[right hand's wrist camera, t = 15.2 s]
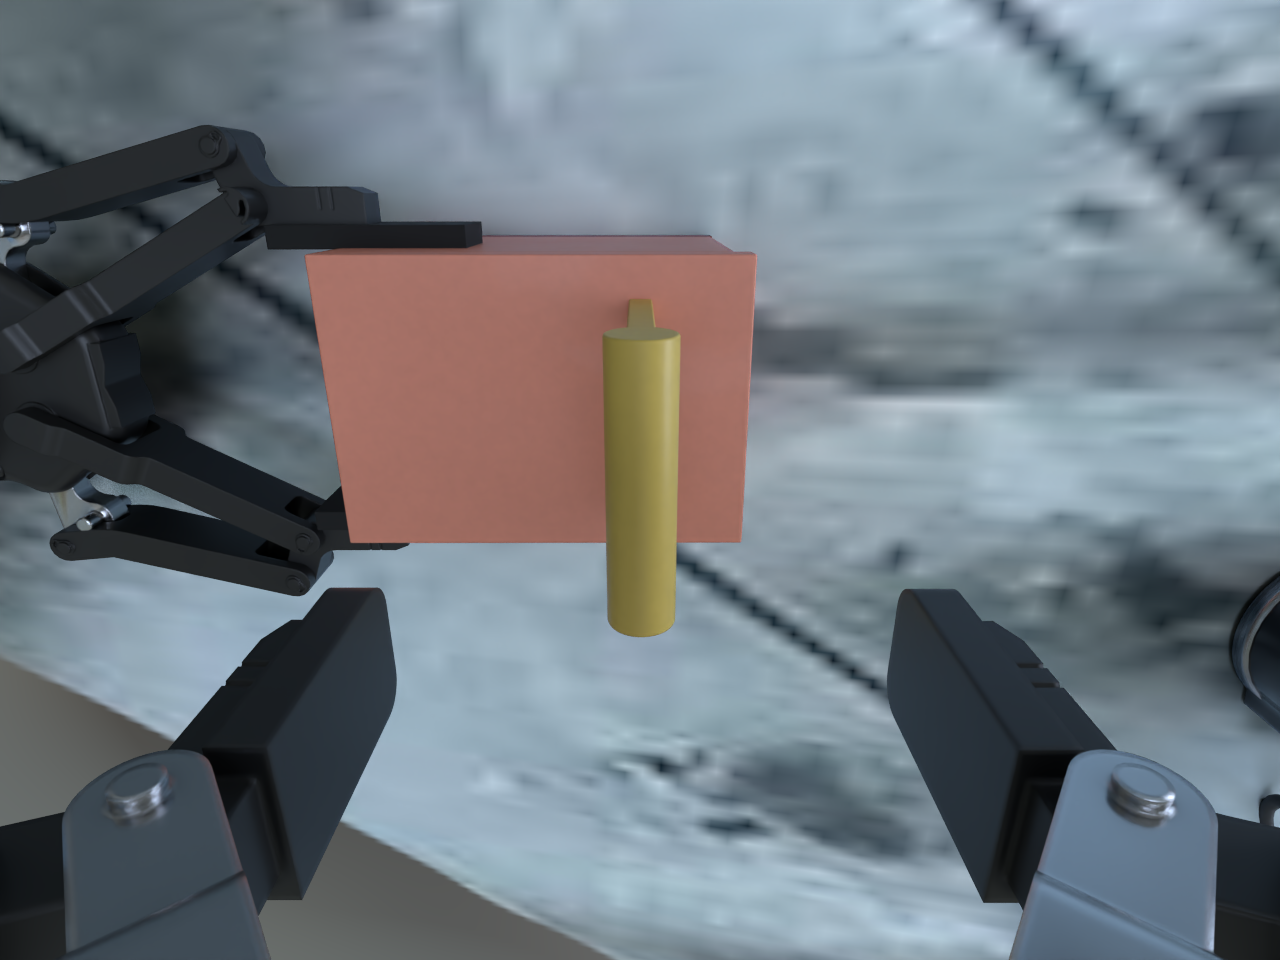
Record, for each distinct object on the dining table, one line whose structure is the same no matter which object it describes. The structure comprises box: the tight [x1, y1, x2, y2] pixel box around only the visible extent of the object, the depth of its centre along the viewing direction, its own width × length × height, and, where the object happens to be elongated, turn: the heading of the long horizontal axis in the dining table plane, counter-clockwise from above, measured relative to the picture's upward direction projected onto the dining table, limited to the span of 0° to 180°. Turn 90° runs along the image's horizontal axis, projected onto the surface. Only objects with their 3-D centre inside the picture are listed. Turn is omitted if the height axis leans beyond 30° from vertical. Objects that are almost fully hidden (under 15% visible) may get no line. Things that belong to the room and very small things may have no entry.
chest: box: [323, 235, 733, 252], centre depth 29 cm, size 13×10×9 cm
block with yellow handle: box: [305, 252, 757, 637], centre depth 20 cm, size 13×10×8 cm
